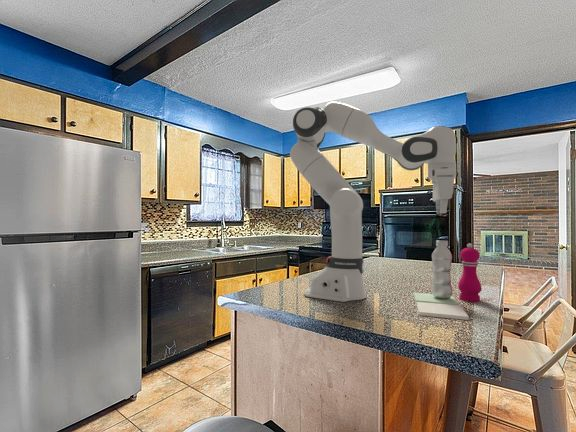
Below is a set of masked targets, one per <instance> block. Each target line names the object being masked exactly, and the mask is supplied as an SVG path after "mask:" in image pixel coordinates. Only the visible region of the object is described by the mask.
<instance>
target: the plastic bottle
mask: <svg viewBox="0 0 576 432" xmlns="http://www.w3.org/2000/svg"><path fill="white" fill-rule="evenodd" d="M435 246H436V247H435V248H434V250H433V252H432V253H431V261H432V272H433V274H432V284H431V288H430V289H431V294H433V296H435V297H438V298H441V299H446V298H450V297H451V296H453V288H452V280H451V271H452V269H451V268H452V267H451V266H452V261H453V254H452V253H451V251H450V250H449V248H448V246H449V241H448V240H442V239H441V240H440V239H436V240H435Z"/></svg>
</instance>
